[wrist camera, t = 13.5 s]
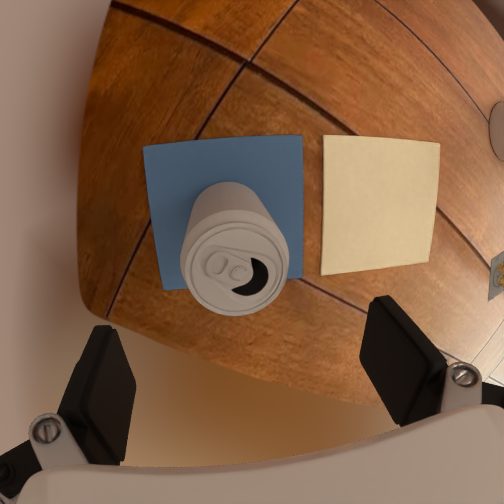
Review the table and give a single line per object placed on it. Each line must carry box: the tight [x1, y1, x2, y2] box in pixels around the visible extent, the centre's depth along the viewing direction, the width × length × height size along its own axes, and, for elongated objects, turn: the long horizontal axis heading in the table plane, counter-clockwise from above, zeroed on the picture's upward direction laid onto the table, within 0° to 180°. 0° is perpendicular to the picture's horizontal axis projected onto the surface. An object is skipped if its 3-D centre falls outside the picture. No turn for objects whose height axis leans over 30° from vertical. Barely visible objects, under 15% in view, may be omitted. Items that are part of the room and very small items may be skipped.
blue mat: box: [143, 135, 303, 290], centre depth 28 cm, size 14×14×1 cm
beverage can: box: [180, 182, 289, 316], centre depth 22 cm, size 6×6×12 cm
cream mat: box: [320, 135, 440, 275], centre depth 30 cm, size 14×14×1 cm
